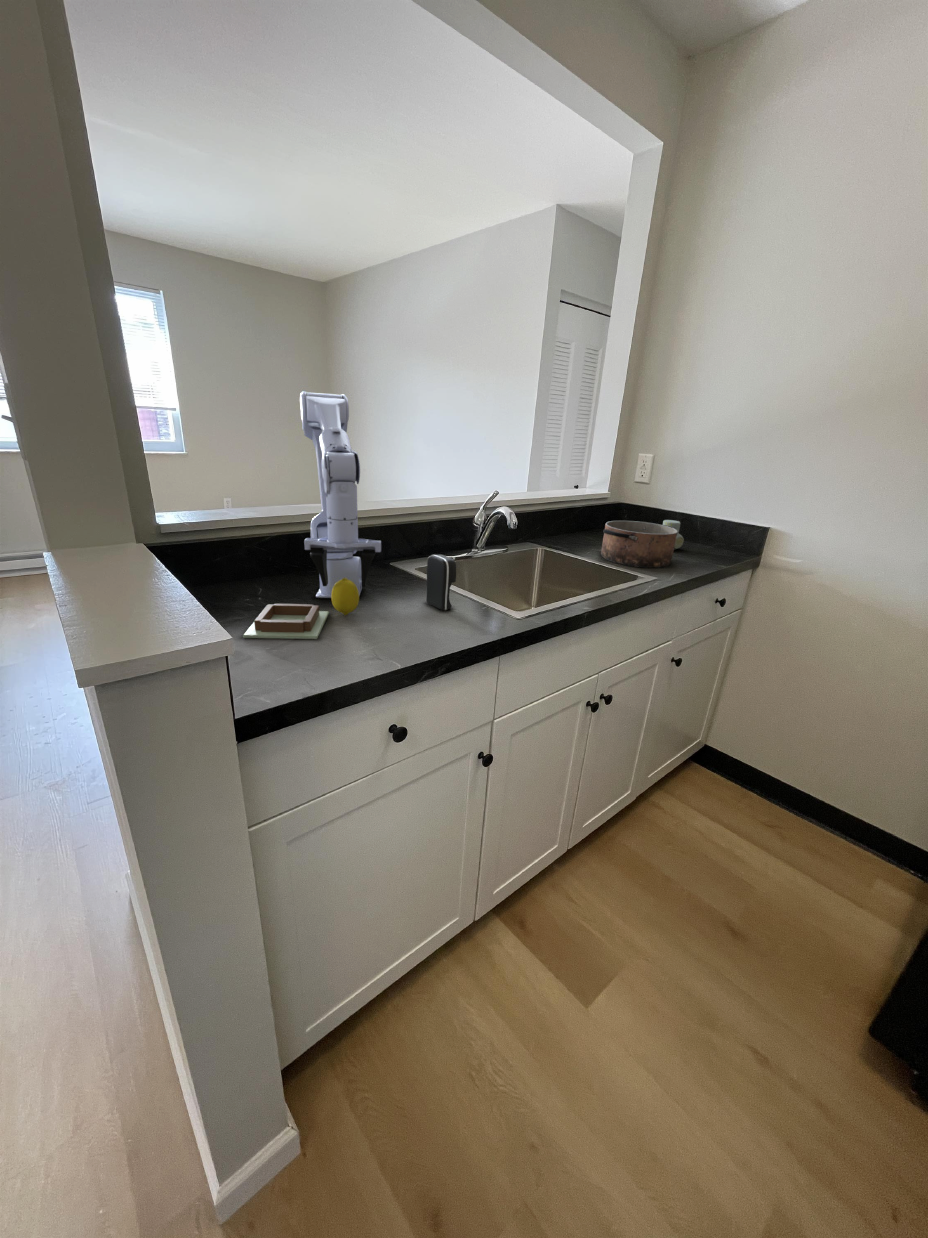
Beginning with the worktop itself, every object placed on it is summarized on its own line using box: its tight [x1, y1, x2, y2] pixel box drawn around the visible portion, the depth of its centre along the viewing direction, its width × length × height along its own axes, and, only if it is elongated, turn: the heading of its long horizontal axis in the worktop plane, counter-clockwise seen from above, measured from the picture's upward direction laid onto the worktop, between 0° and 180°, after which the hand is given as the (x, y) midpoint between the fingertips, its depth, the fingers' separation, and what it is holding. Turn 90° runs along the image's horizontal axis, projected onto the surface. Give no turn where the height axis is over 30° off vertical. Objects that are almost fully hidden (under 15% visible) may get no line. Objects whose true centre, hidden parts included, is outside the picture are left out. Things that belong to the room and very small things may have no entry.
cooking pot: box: [600, 520, 678, 569], centre depth 162 cm, size 30×22×11 cm
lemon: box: [330, 578, 360, 616], centre depth 101 cm, size 6×6×8 cm
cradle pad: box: [242, 603, 330, 640], centre depth 95 cm, size 13×13×3 cm
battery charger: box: [425, 554, 457, 611], centre depth 109 cm, size 7×4×11 cm, turn 37°
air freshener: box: [662, 519, 685, 551], centre depth 182 cm, size 11×8×10 cm
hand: (344, 585), depth 100 cm, fingers open, 7 cm apart
